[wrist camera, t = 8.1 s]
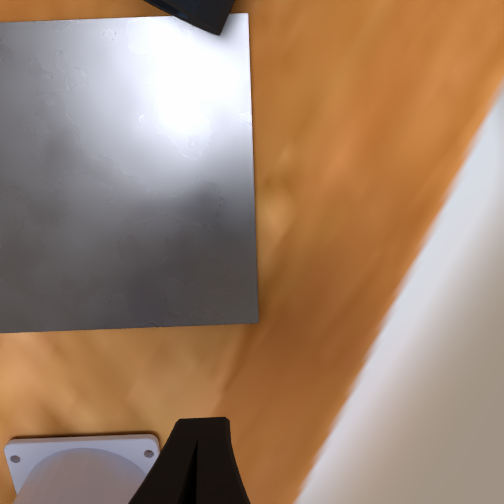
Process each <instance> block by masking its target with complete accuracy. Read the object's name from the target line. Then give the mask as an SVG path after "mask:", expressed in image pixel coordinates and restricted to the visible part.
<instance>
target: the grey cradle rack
mask: <svg viewBox="0 0 504 504" xmlns="http://www.w3.org/2000/svg"><path fill="white" fill-rule="evenodd" d="M251 323H259V315H258V286H257V257H256V228H255V200H254V171H253V142H252V113H251V84H250V56H249V27H248V13H239V14H229V15H228V18H227V20H226V23H225V25H224V27H223V30H222V32H221V34H220V36H219V35H214V34H211V33H209V32H206V31H204V30H202V29H199V28H197V27H195V26H193V25H191V24H189V23H187V22H184V21H182V20H180V19H178V18H176V17H174V16H160V17H134V18H108V19H82V20H56V21H29V22H3V23H0V333H19V332H45V331H70V330H96V329H122V328H148V327H173V326H199V325H225V324H251Z"/></svg>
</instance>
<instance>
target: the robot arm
mask: <svg viewBox="0 0 504 504" xmlns="http://www.w3.org/2000/svg"><path fill="white" fill-rule="evenodd" d="M146 450H151V451H152V452H148V451H146ZM4 453H5V456H6V460H7V463H8V467H9V470H10V473H11V477H12V480H13V484H14V487H15V491H16V494H17V497H16V499H15V500H14V502H13V504H250V501H249V499H248V496H247V494H246V491H245V488H244V486H243V483H242V480H241V477H240V474H239V471H238V467H237V464H236V461H235V457H234V453H233V449H232V444H231V433H230V420H229V419H227V418H226V417H210V418H189V419H179V420H178V421H177V422H176V423H175V426H174V428H173V430H172V432H171V434H170V436H169V438H168V440H167V442H166V443H165V445H164V447H163V449H162V451H161V452H160V449H159V441H158V439H157V438H156V437H155V436H154V435H151V434H138V435H112V436H87V437H61V438H36V439H13V440H10V441H9V442H8V443H7V444H6V446H5V448H4ZM15 455H16V456H18V457H16V456H15Z"/></svg>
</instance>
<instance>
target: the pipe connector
mask: <svg viewBox="0 0 504 504" xmlns="http://www.w3.org/2000/svg"><path fill="white" fill-rule="evenodd" d="M144 1H146V2H147V3H149V4H151V5H153V6H155V7H157V8H159V9H161V10H163V11H165V12H166V13H168V14H170V15H172V16H174V17H176V18H178V19H180V20H182V21H184V22H187V23H189V24H191V25H193V26H195V27H197V28H199V29H202V30H204V31H206V32H209V33H211V34H214V35H219V36H220V34H221V32H222V30H223V27H224V25H225V23H226V20H227V18H228V15H229V13H230V11H231V8H232V6H233V3H234V1H235V0H144Z"/></svg>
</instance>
